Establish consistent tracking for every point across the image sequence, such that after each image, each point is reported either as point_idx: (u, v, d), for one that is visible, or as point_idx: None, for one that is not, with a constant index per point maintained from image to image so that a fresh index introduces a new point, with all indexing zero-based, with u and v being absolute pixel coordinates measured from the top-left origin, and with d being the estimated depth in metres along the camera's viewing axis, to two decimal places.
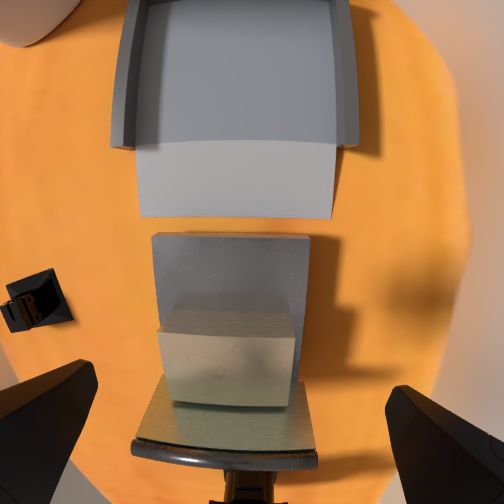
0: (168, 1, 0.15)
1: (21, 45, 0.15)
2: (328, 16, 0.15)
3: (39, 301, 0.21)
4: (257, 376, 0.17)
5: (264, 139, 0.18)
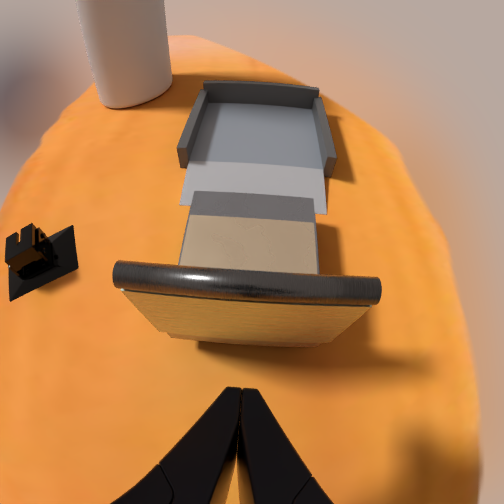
0: (220, 102, 0.35)
1: (113, 104, 0.35)
2: (312, 116, 0.34)
3: (48, 246, 0.22)
4: (282, 259, 0.17)
5: (276, 164, 0.29)
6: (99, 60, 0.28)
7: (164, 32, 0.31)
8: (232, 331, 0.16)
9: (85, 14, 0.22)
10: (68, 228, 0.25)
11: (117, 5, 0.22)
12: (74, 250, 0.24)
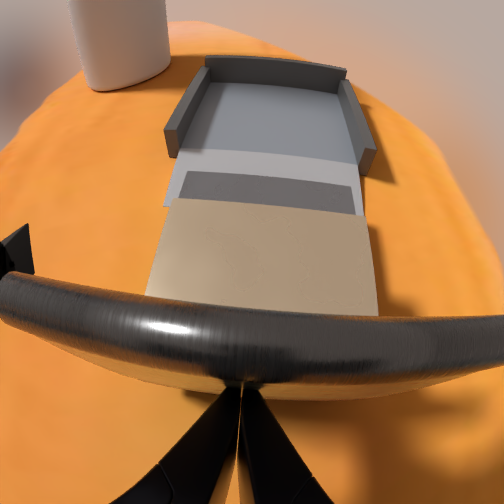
0: (225, 81, 0.28)
1: (100, 86, 0.28)
2: (338, 101, 0.27)
3: None
4: (321, 274, 0.10)
5: (297, 156, 0.21)
6: (84, 34, 0.21)
7: (162, 4, 0.23)
8: None
9: None
10: (23, 227, 0.18)
11: None
12: (29, 252, 0.17)
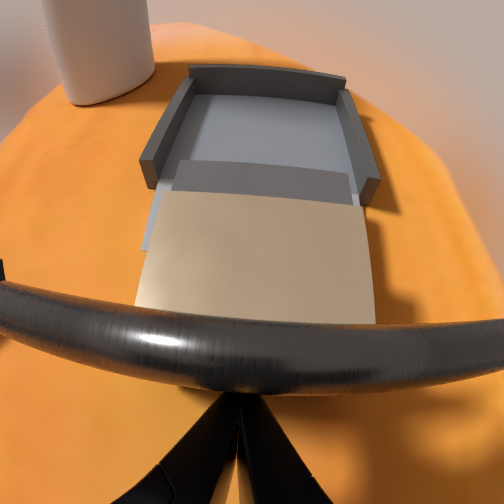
0: (211, 93, 0.25)
1: (79, 100, 0.26)
2: (336, 114, 0.24)
3: None
4: (317, 268, 0.10)
5: None
6: (59, 45, 0.19)
7: (142, 8, 0.21)
8: None
9: None
10: None
11: None
12: None
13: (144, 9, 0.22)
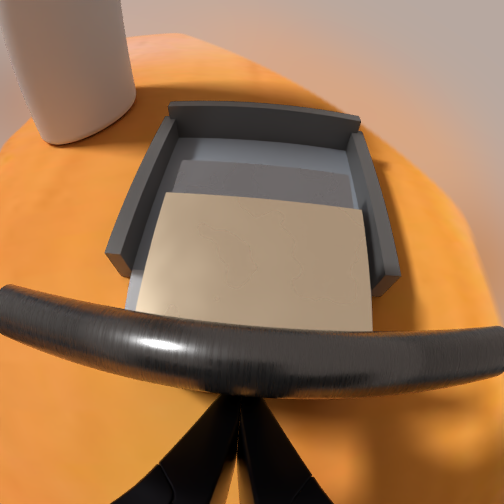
0: (197, 136, 0.22)
1: (50, 139, 0.23)
2: (347, 164, 0.21)
3: None
4: (315, 271, 0.10)
5: None
6: (23, 79, 0.16)
7: (116, 27, 0.18)
8: None
9: (1, 15, 0.09)
10: None
11: None
12: None
13: (119, 28, 0.19)
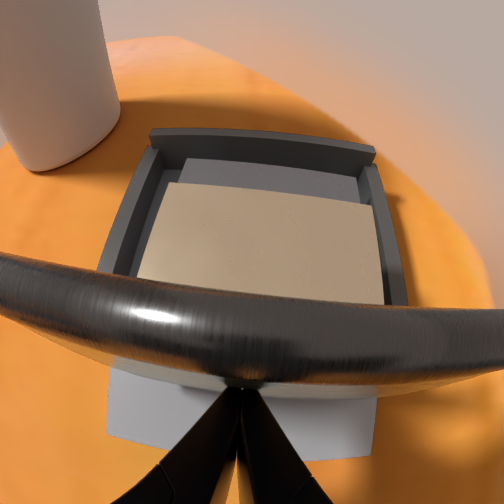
0: None
1: (28, 166, 0.20)
2: None
3: None
4: (324, 264, 0.09)
5: None
6: None
7: (93, 38, 0.15)
8: None
9: None
10: None
11: None
12: None
13: (96, 39, 0.16)
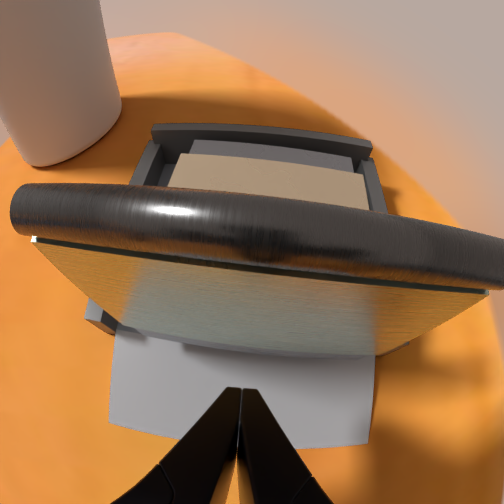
0: None
1: (31, 161, 0.20)
2: None
3: None
4: None
5: None
6: None
7: (94, 36, 0.16)
8: (233, 334, 0.09)
9: None
10: None
11: (1, 7, 0.07)
12: None
13: (98, 36, 0.16)
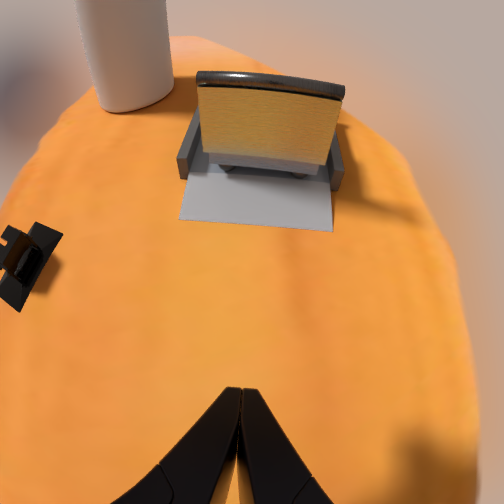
0: None
1: (112, 108, 0.34)
2: None
3: None
4: None
5: (281, 177, 0.28)
6: (98, 63, 0.27)
7: (166, 34, 0.30)
8: (257, 139, 0.23)
9: (83, 15, 0.21)
10: (33, 226, 0.25)
11: (116, 6, 0.21)
12: (50, 229, 0.25)
13: (167, 35, 0.30)
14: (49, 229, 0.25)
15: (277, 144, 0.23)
